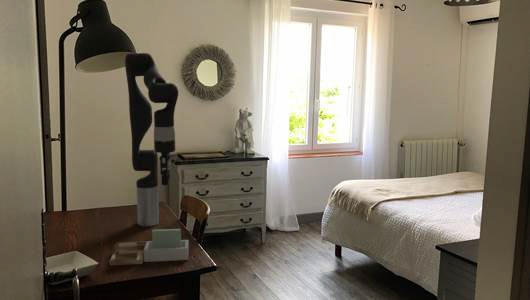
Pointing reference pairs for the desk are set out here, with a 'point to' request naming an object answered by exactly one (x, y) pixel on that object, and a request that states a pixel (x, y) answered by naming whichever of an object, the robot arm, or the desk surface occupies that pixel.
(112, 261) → the rack
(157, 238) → the sheet
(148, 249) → the bin
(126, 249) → the offcut top
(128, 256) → the offcut low
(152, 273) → the desk surface
